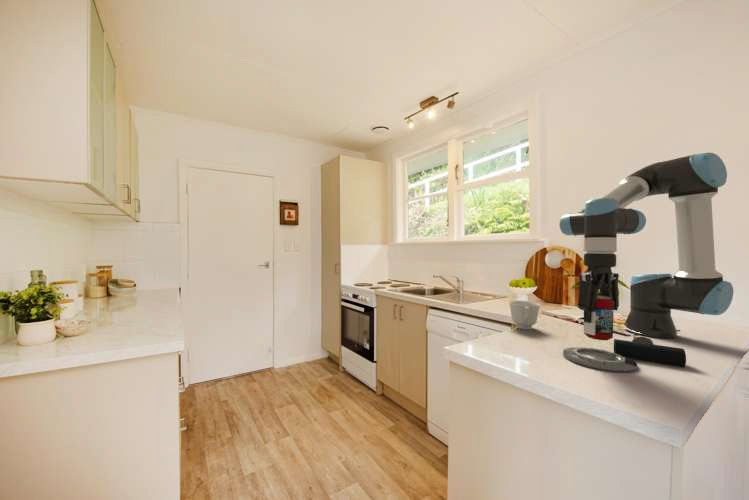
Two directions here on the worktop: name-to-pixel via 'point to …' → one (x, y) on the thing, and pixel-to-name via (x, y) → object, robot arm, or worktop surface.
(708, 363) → the worktop surface
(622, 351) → the pipe connector
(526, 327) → the teacup
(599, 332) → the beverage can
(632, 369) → the ring plate
